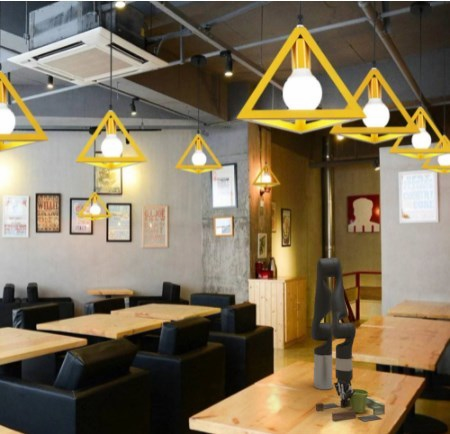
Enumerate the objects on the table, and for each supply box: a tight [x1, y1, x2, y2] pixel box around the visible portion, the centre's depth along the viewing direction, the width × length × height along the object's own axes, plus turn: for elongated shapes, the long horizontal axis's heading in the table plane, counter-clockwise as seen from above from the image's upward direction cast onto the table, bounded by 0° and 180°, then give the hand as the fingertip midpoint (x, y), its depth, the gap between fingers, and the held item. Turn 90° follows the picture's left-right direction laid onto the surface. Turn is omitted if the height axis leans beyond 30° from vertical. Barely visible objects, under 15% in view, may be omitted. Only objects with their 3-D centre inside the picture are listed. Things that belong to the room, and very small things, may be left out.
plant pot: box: [350, 388, 369, 414], centre depth 234 cm, size 9×9×9 cm
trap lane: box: [315, 396, 386, 423], centre depth 233 cm, size 25×26×4 cm
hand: (344, 407), depth 231 cm, fingers closed
